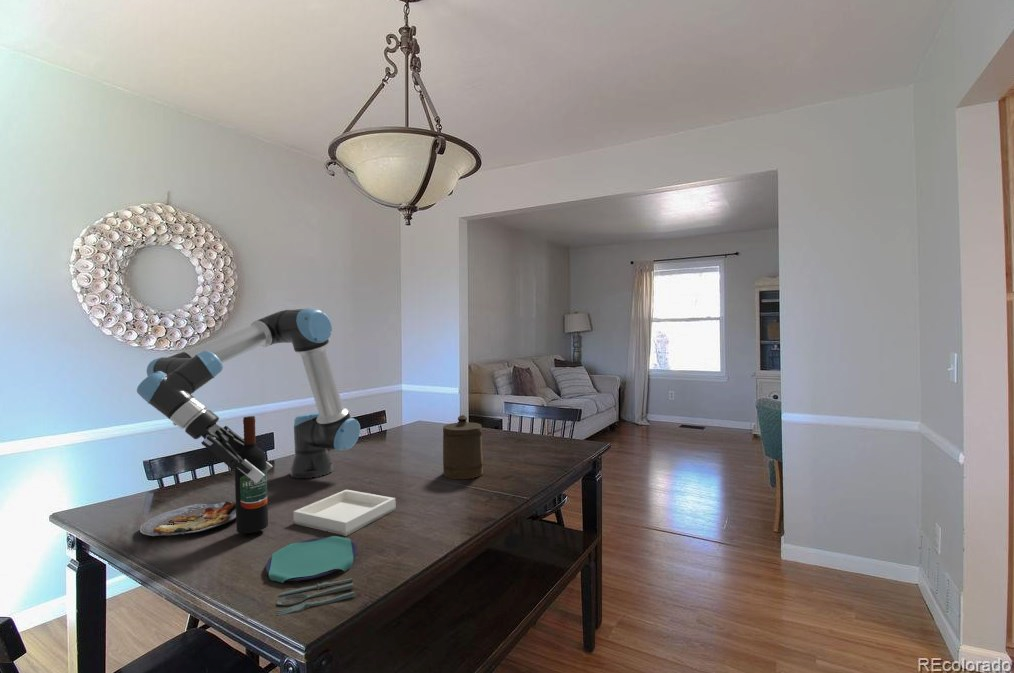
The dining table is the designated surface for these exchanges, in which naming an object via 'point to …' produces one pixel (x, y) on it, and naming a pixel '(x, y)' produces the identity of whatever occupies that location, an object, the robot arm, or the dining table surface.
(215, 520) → the food plate
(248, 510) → the wine bottle
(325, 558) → the cutlery set
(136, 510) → the dining table surface
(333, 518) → the tray
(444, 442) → the wooden container
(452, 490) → the dining table surface
